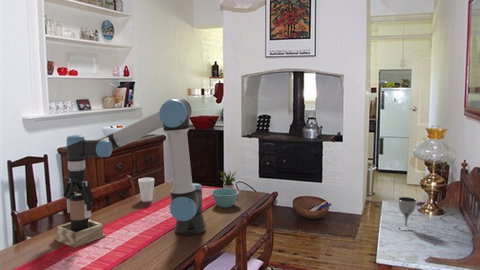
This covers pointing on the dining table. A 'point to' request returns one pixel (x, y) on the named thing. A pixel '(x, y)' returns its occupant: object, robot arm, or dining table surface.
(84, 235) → the caddy
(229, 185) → the house plant
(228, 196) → the bowl
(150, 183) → the foam cup
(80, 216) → the travel mug
